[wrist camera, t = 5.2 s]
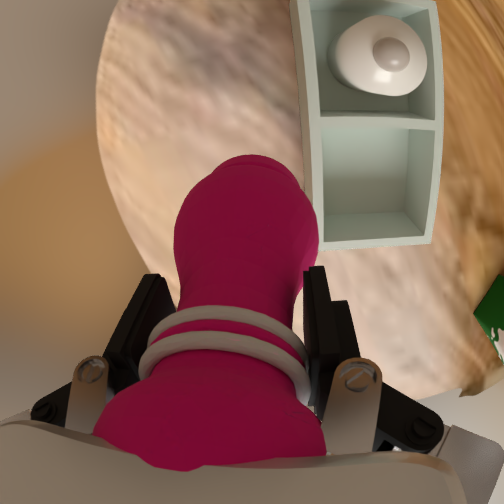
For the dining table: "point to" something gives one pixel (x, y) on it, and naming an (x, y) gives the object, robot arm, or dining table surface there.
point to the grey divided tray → (368, 132)
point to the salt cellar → (378, 57)
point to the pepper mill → (228, 331)
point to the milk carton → (493, 315)
